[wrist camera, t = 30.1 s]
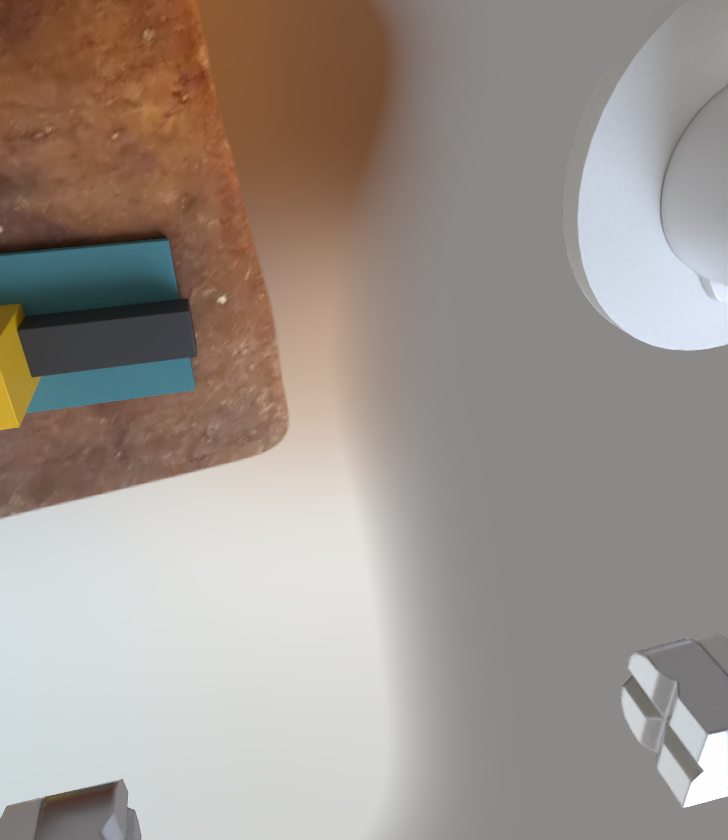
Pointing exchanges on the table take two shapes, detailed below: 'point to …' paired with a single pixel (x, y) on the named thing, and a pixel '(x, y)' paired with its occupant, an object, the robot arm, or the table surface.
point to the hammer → (85, 345)
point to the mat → (89, 289)
